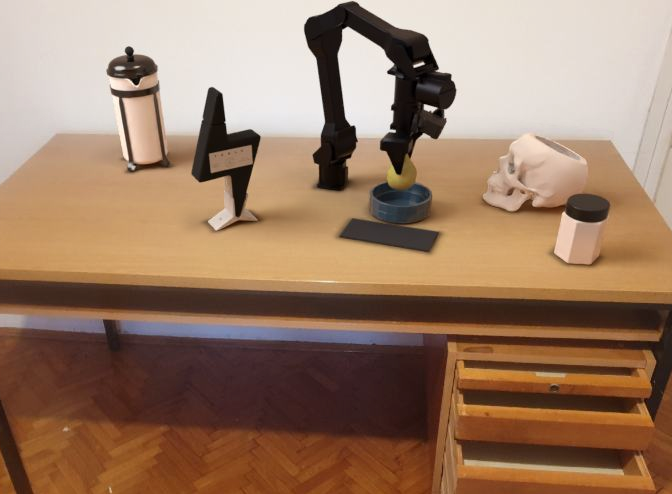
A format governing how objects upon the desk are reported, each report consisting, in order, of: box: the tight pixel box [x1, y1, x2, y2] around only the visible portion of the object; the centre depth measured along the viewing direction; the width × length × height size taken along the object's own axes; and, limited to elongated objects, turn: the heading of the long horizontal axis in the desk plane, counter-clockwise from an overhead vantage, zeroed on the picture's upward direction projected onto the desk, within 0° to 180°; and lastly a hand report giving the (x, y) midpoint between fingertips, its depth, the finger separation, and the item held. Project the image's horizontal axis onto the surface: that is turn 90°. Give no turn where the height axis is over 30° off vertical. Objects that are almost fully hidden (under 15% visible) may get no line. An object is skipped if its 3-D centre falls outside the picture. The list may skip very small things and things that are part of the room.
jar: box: [553, 193, 611, 266], centre depth 142 cm, size 9×8×12 cm
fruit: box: [386, 154, 418, 191], centre depth 157 cm, size 7×8×12 cm
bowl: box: [368, 180, 433, 224], centre depth 163 cm, size 14×14×4 cm
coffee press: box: [105, 46, 171, 173], centre depth 184 cm, size 17×16×30 cm
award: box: [191, 86, 262, 232], centre depth 153 cm, size 15×5×30 cm, turn 117°
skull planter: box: [481, 132, 589, 212], centre depth 162 cm, size 14×20×19 cm
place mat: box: [339, 217, 439, 253], centre depth 155 cm, size 20×9×1 cm, turn 68°
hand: (402, 168), depth 158 cm, fingers closed on fruit, 6 cm apart
